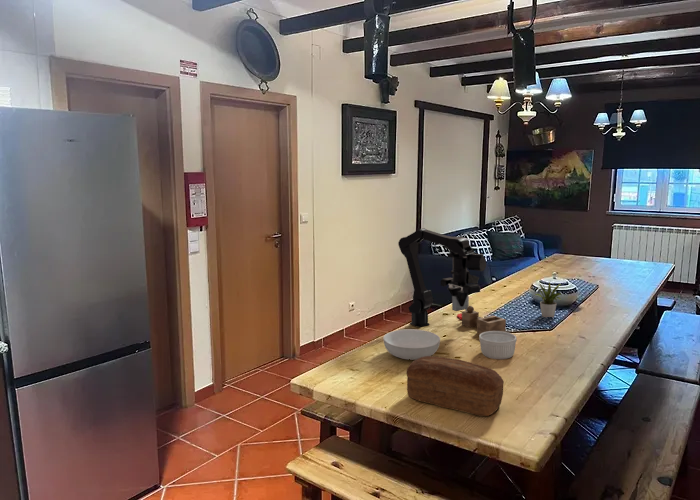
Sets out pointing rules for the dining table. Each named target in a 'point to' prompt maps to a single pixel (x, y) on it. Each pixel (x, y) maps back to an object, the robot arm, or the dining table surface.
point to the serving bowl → (411, 343)
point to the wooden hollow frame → (482, 321)
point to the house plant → (548, 301)
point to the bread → (455, 385)
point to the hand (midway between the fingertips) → (459, 305)
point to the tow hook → (461, 313)
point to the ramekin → (497, 344)
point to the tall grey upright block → (458, 303)
